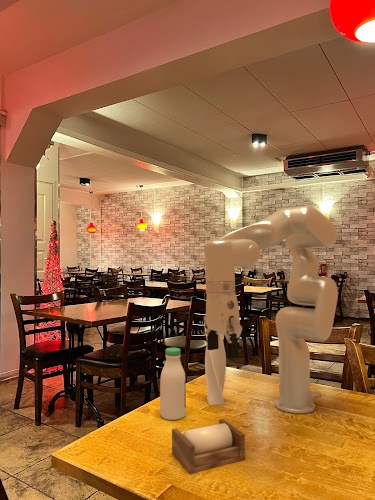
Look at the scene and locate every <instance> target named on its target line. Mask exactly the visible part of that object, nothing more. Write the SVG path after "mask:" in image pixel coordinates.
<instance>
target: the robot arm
mask: <svg viewBox="0 0 375 500" xmlns="http://www.w3.org/2000/svg"><path fill="white" fill-rule="evenodd" d="M337 235H338V232H337V228H336V226H335V224H334V223H333V222H332V221H331V219H329V218H328V217H327V216H325V214H323V213H322V212H321V211H319V210H318V209H317V208H315V207H313V206H309V205H300V206H299V205H298V206H291V207H283V208H280V209H278V210H276V211H274V213H271V214H270V215H268V216H266V217H265V218H262V219H261V220H260V221H257V222H255V223H252V224H250V225H247V226H245V227H241V228H239V229H236V230H234V231H231V232H229V233H228V232H227V234H224V235H223V236H221V237H220V238H218V239H216V240H208V241H207V242H206V243H205V245H204V263H205V267H204V268H205V269H204V270H205V294H206V301H205V315H204V316H203V321H204V323H205V326H204V329H205V328H206V332H205V335H206V334H207V338H206V345H207V349H208V350H215V349H218V348H219V344H218V334H216V333H217V332H219V333H222V334H224V337H225V338H226V341H227V342H226V343H225V349H226V350H225V355H226V360H233V359H237V358H238V359H239V342H240V338H241V337H242V335H241V334H242V331H243V326H242V325H241V324H240V323H241V322H240V321H241V320H240V309H239V302H238V297H237V294H236V279H235V277H236V276H235V268H249V267H251V266H252V267H253V266H254V265H255V264H256V263H258V261H259V260H260V257H261V251H263V250H267V249H268V250H269V249H272V248H274V247H276V246H277V245H278V244H280V243H281V242H282V241H284V240H285V242H286V244H287V246H288V248H289V251H290V254H291V257H292V265H291V269H290V270H291V271H290V276H289V281H288V284H287V289H286V293H287V294H286V296H287V300H288V301H290V302H291V303H293V304H296V305H300V306H301V305H302V306H313V307H315V308H307V307H306V308H305V307H297V306H285V307H282V308H281V309H280V310H278V311H277V313H276V316H275V328H276V333H277V338H278V376H279V377H278V382H279V383H278V395H279V396H278V397H277V398H275V399H274V400H273V401H274V403H273V404H274V406H275V408H277V409H278V410H280V411H282V412H286V413H291V414H308V413H312V412H314V411H315V410H316V404H315V402H314V401H313V400H315V399H318V398H321V397H322V393H321V391H312V390H311V381H310V379H311V375H310V374H311V371H310V370H311V368H310V366H311V365H310V364H311V363H310V362H311V361H310V359H311V358H310V357H311V356H310V355H311V353H310V348H309V346H308V343H307V342H306V340H307V341H308V340H309V341H316V342H325V341H327V340H328V339H329V338H330V336H331V334H332V330H333V325H334V322H335V321H334V320H335V319H334V318H335V314H336V309H337V303H338V296H339V291H338V285H337V282H336V281H335V280H334V279H332V278H331V277H330V276H329V277H328V276H322V275H321V276H319V275H318V274H319V269H320V262H319V260H318V258H317V256H316V254H315V253H314V252H313V250H312V249H311V248H329V247H331V246H333V245H334V244H335V243H336V241H337Z"/></svg>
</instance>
